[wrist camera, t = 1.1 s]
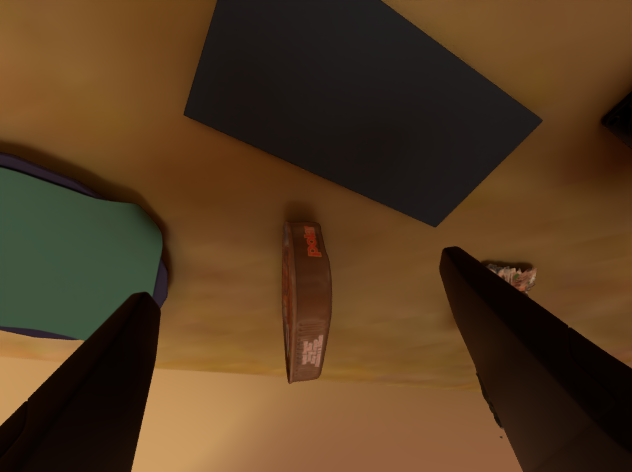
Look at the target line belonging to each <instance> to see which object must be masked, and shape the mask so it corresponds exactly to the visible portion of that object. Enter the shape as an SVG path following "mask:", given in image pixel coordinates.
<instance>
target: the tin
mask: <svg viewBox="0 0 632 472" xmlns="http://www.w3.org/2000/svg"><path fill="white" fill-rule="evenodd" d="M282 263H283V264H282V315H283V332H284V346H285V360H286V371H287V378H288V383H289V384H291V383H292V382H297V381H307V380H314V379H317V378H319V376H320V374H321V371H322V366H323V361H324V356H325V351H326V345H327V339H328V333H329V327H330V321H331V313H332V280H331V270H330V263H329V259H328V255H327V253H326V251H325V246H324V242H323V238H322V234H321V226H320V224H319V223H316V222H288V221H285V223H284V226H283V260H282Z"/></svg>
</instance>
